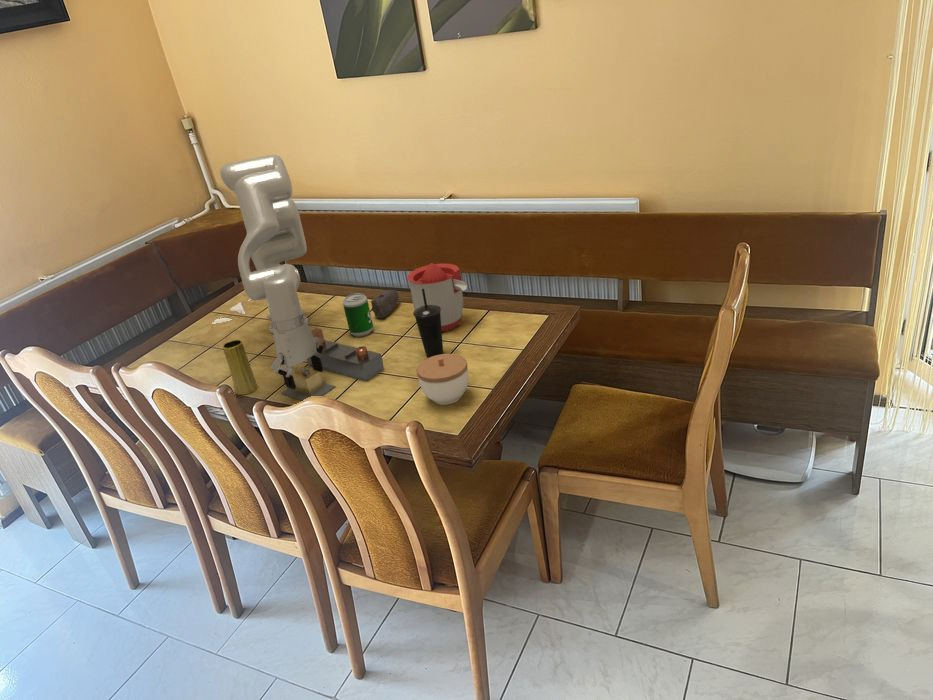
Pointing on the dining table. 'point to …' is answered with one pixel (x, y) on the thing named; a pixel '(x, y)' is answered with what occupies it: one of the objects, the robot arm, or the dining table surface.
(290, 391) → the mat
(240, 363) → the vase
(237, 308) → the paper scraps
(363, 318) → the soda can
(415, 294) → the citrus juicer
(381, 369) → the plane body
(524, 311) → the dining table surface
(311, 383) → the lever cap
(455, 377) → the lidded bowl
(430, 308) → the drinking cup
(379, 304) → the perforated stone tool
